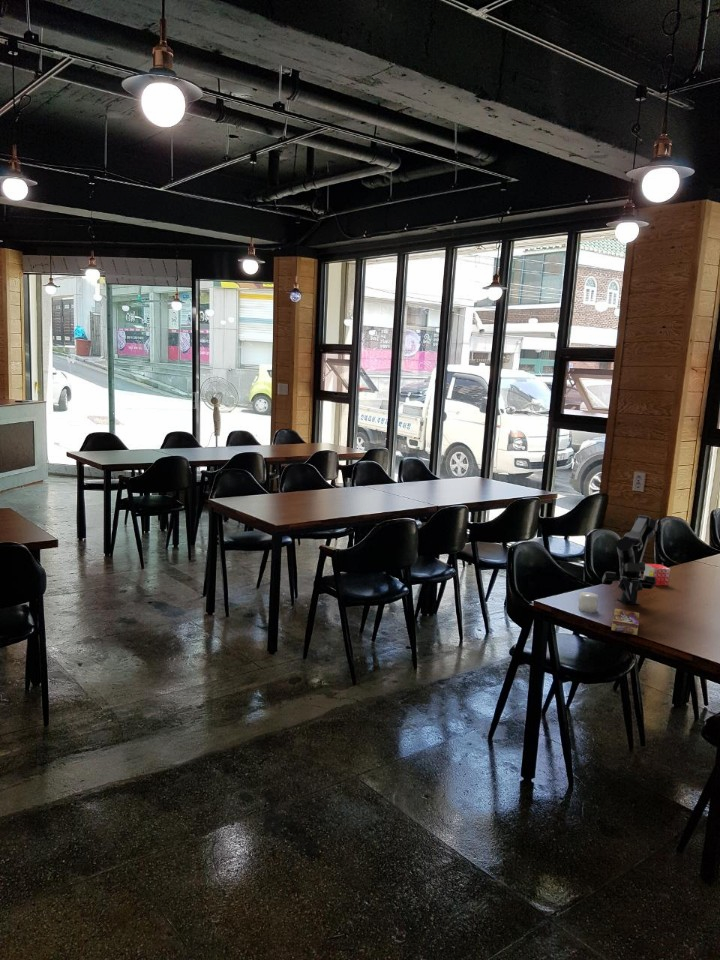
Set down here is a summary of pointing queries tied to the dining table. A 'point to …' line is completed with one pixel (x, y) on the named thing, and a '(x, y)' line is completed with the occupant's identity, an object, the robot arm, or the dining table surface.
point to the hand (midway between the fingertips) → (630, 600)
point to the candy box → (625, 621)
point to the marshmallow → (588, 602)
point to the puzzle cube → (658, 573)
